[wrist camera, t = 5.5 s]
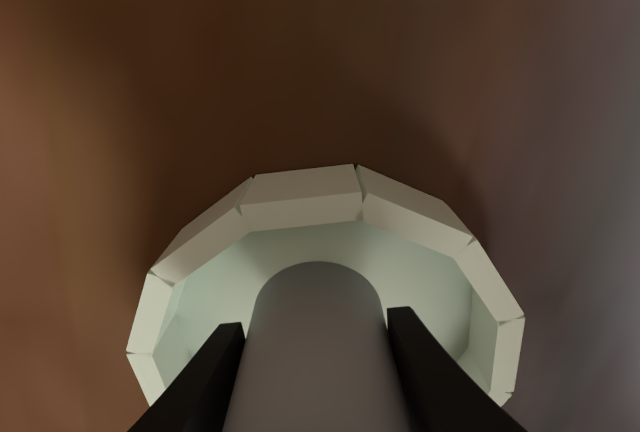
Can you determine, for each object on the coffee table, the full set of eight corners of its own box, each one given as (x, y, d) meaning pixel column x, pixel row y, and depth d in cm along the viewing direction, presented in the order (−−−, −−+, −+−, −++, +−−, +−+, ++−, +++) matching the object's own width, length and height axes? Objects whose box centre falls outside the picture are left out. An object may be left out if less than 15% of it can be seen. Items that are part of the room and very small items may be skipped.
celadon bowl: (499, 147, 11) (548, 171, 9) (474, 414, 16) (500, 474, 14) (117, 190, 12) (66, 223, 10) (208, 435, 17) (191, 496, 15)
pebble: (383, 257, 10) (434, 420, 6) (381, 360, 12) (419, 550, 7) (245, 264, 10) (187, 429, 6) (262, 365, 12) (227, 556, 7)
